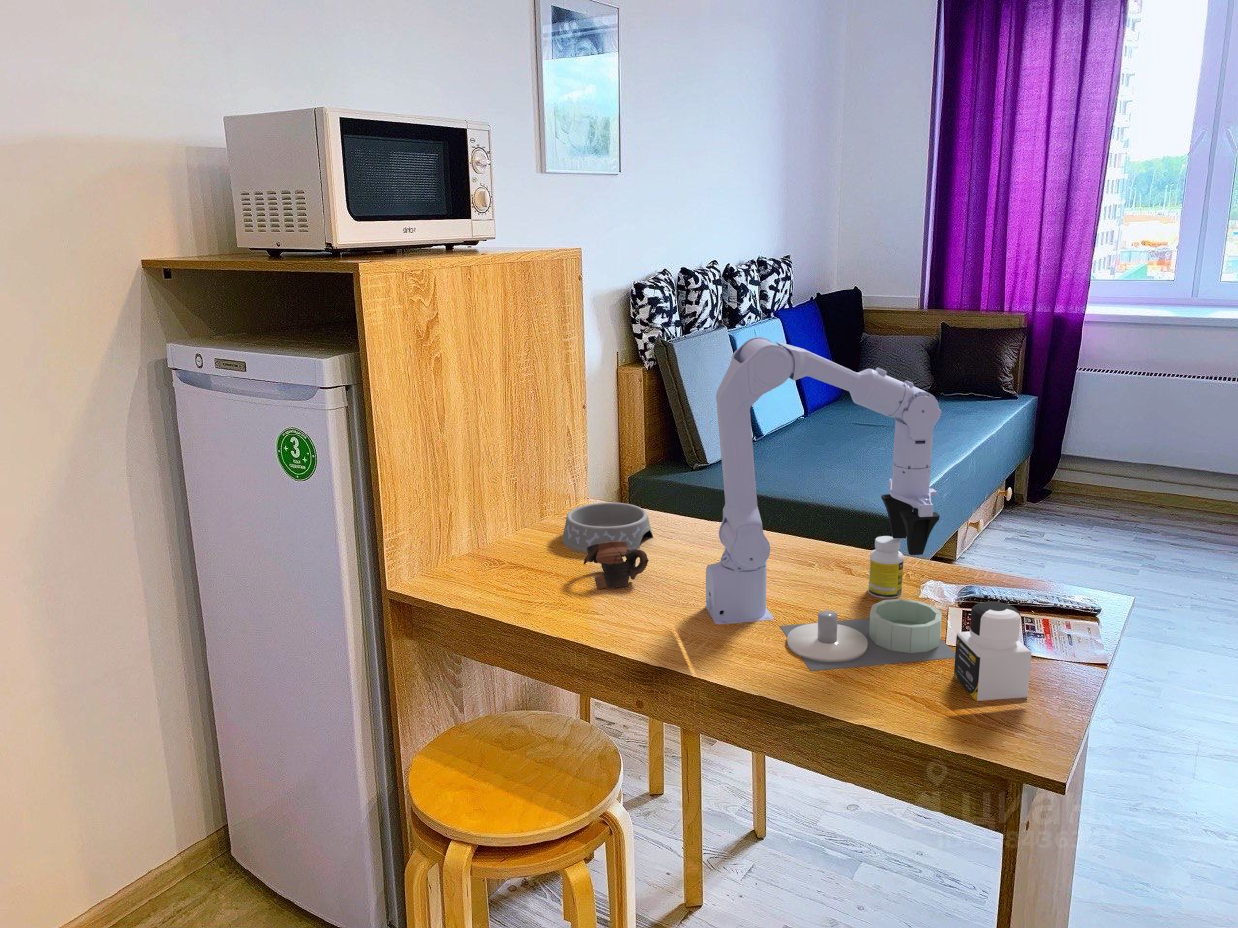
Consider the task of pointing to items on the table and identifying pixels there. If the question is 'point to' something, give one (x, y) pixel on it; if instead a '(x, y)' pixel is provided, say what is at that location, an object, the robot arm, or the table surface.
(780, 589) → the table surface
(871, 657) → the mat
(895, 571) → the supplement bottle
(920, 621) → the bowl
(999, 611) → the medicine bottle
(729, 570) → the robot arm
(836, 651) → the lid
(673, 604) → the table surface
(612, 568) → the pottery mug
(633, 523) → the dog bowl
